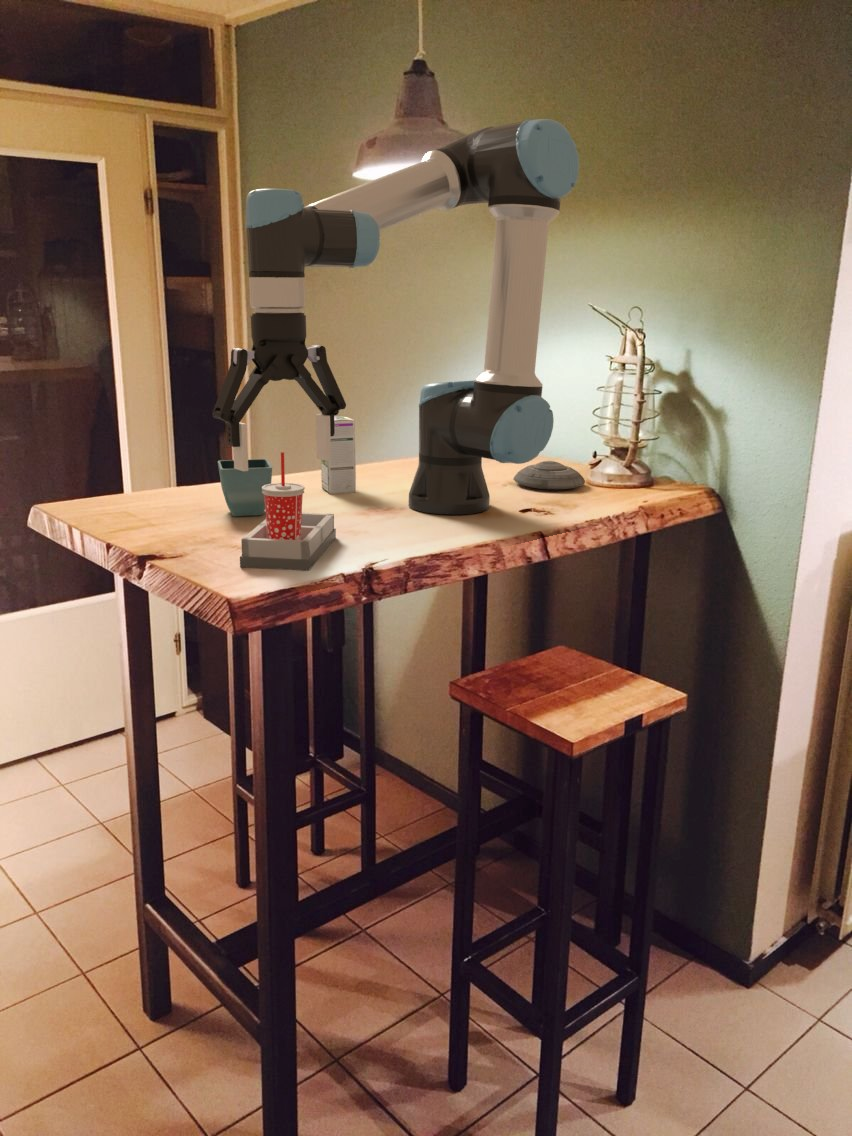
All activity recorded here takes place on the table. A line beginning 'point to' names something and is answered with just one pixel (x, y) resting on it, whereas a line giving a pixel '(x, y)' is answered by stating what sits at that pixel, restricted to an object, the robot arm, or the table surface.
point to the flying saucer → (549, 476)
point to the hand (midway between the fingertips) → (283, 464)
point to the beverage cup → (283, 508)
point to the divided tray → (289, 545)
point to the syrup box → (341, 459)
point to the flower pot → (245, 486)
